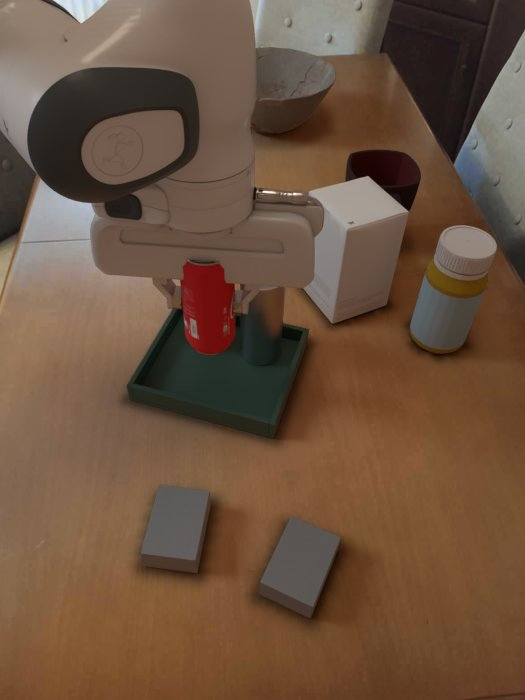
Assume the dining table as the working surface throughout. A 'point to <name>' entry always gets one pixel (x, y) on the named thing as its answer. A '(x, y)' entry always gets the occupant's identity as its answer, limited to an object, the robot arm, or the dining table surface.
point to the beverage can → (207, 307)
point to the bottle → (452, 289)
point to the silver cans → (262, 326)
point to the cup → (387, 173)
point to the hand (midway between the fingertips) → (208, 307)
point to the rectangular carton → (355, 248)
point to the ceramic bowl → (288, 88)
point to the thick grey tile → (176, 529)
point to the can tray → (217, 379)
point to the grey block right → (299, 566)
